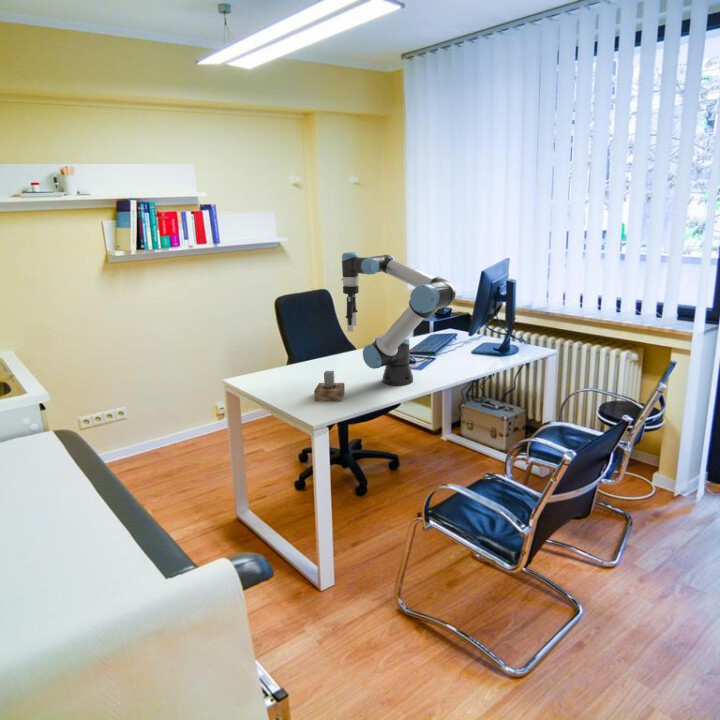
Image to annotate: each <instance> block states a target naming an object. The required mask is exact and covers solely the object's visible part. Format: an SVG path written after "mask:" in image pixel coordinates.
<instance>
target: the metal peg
mask: <svg viewBox="0 0 720 720" xmlns="http://www.w3.org/2000/svg"><path fill="white" fill-rule="evenodd" d="M323 379H324V380H323V383H324V386H325V389H335V384H334V383H335V370H325V371H324V372H323Z"/></svg>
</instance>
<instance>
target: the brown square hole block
mask: <svg viewBox="0 0 720 720" xmlns="http://www.w3.org/2000/svg"><path fill="white" fill-rule="evenodd" d="M334 384H335V389H325V386H324V382H318V384H317V385H316V387H315V389H314V391H313V393H314V402H342V401H343V398H344V396H345V383H344V382H334Z"/></svg>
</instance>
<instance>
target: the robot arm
mask: <svg viewBox="0 0 720 720" xmlns="http://www.w3.org/2000/svg"><path fill="white" fill-rule="evenodd" d="M341 268H342V269H341V270H342V272H341V273H342V278H341V281H342V285H343V286H342V293H343V294H344V295H347V297H346V316H345V319H346V320H347V321H346V323H347V326H346V327H347V332H348V333H349V332H354V326H355V327H356V326H357V313H358V309H357V301H356V298H357V297H356V294H359V292H360V289H359V275H360V274H361V275H375V274H377V273H381V272H382V273H385V274H386V275H389V276H391V277H393V278H395V279H397V280H399V281H402V282H404V283H405V284H409V285H410V286H412V287H414V288H413V289H412V291H411V293H410V295H409V297H410V299H409V300H408V306H407V308H406V309H405V310H404V311H403V312H402V313H401V315H400V316H399V317H398V318H397V320H395V322H393V323H392V325H391V326H390V327H389V329H388V330H387V331H386V332H385V333H384V334H383V335H382V334H381V335H379V336H377V338H375V340H374V341H373V342H372V343H369V344H367V345H365V346H364V347H363V349H362V358H363V361H364V363H365V365H366V366H368V367H369V368H370V369H374V370H375V369H380V368H382V367H384V366H385V368H384V371H383V374H382V382H383V384H386V385H389V386H406V385H409V384H412V383H413V382H414V375H413V373H412V372H413V371H412V369H411V365H410V339H409V336H410V335H411V333H413V331H414V330H415V329H416V328H417V327H418V326H419V325H420V324H421V323H422V322H423V321H424V319H425V320H427V319H430V318H431V317H432V315H434V314H435V312H436V311H437V310H439V309H440V310H441V309H444V308H446V307H449V306H450V305H452V304H453V302H454V301H455V299H456V289H455V286H454V285H453V284H452V283H451V281H448V280H446V279H445V278H442V277H441V276H432V275H429V274H428V273H426V272H423V271H420V270H418V269H416V268H414V267H412V266H409V265H407V264H406V263H403V262H400V261H398V260H397V259H396V258H395V257H394V256H393V255H391V254H383V255H376V256H368V257H359V256H358V253H357V252H353V251H352V252H343V253H342V255H341Z"/></svg>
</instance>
